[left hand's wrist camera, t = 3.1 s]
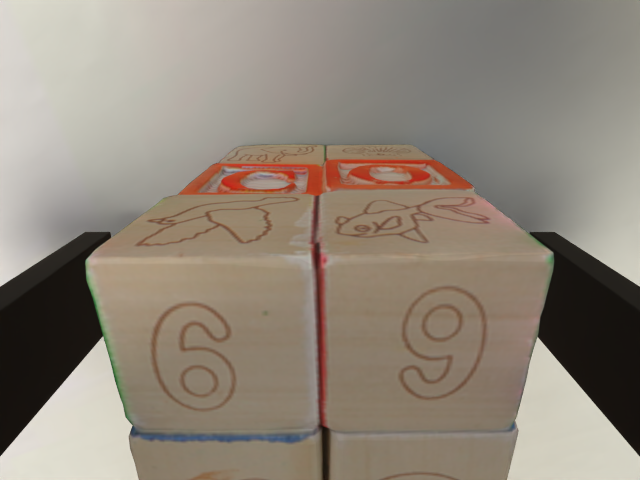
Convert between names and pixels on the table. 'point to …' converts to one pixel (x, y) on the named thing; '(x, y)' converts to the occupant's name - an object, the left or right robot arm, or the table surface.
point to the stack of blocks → (321, 320)
